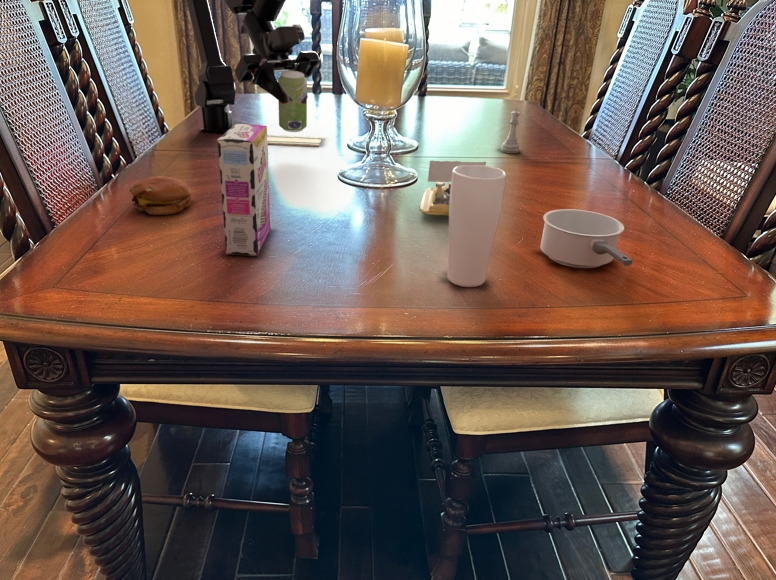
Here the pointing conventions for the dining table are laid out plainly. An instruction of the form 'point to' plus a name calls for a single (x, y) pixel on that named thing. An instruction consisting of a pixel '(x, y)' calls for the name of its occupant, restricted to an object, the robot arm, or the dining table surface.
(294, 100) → the beverage can
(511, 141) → the chess piece
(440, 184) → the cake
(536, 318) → the dining table surface
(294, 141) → the towel
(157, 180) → the burger
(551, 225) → the saucepan
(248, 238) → the white pink box
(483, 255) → the drinking glass
